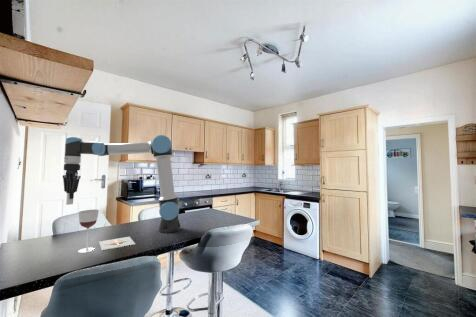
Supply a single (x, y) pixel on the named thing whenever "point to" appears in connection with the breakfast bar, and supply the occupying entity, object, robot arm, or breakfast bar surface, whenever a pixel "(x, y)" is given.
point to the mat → (116, 243)
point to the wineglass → (87, 224)
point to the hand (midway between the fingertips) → (69, 204)
